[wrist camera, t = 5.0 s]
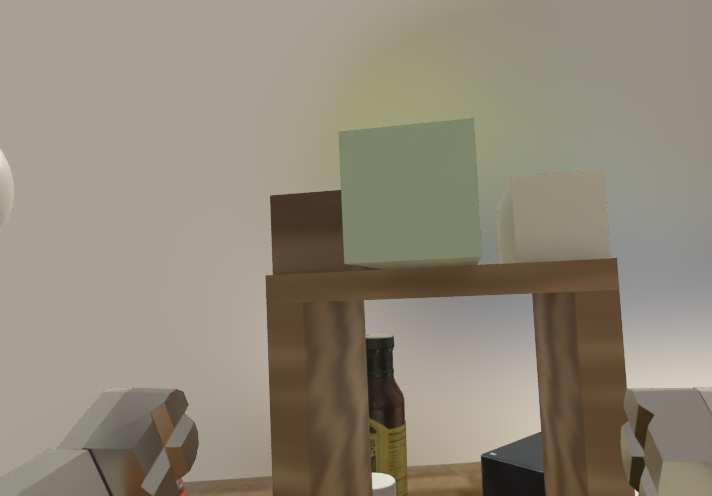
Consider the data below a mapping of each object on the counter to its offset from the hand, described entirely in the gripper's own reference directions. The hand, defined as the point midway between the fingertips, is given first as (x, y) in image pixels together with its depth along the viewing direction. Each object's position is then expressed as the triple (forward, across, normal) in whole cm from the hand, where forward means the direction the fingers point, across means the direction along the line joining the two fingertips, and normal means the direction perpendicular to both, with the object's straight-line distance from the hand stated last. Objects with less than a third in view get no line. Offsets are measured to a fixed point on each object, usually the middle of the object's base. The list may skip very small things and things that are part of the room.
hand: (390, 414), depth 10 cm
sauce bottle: (+32, +9, +46) cm, 57 cm away
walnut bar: (+18, +5, +7) cm, 20 cm away
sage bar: (+14, 0, +5) cm, 15 cm away
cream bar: (+18, -5, +7) cm, 20 cm away
